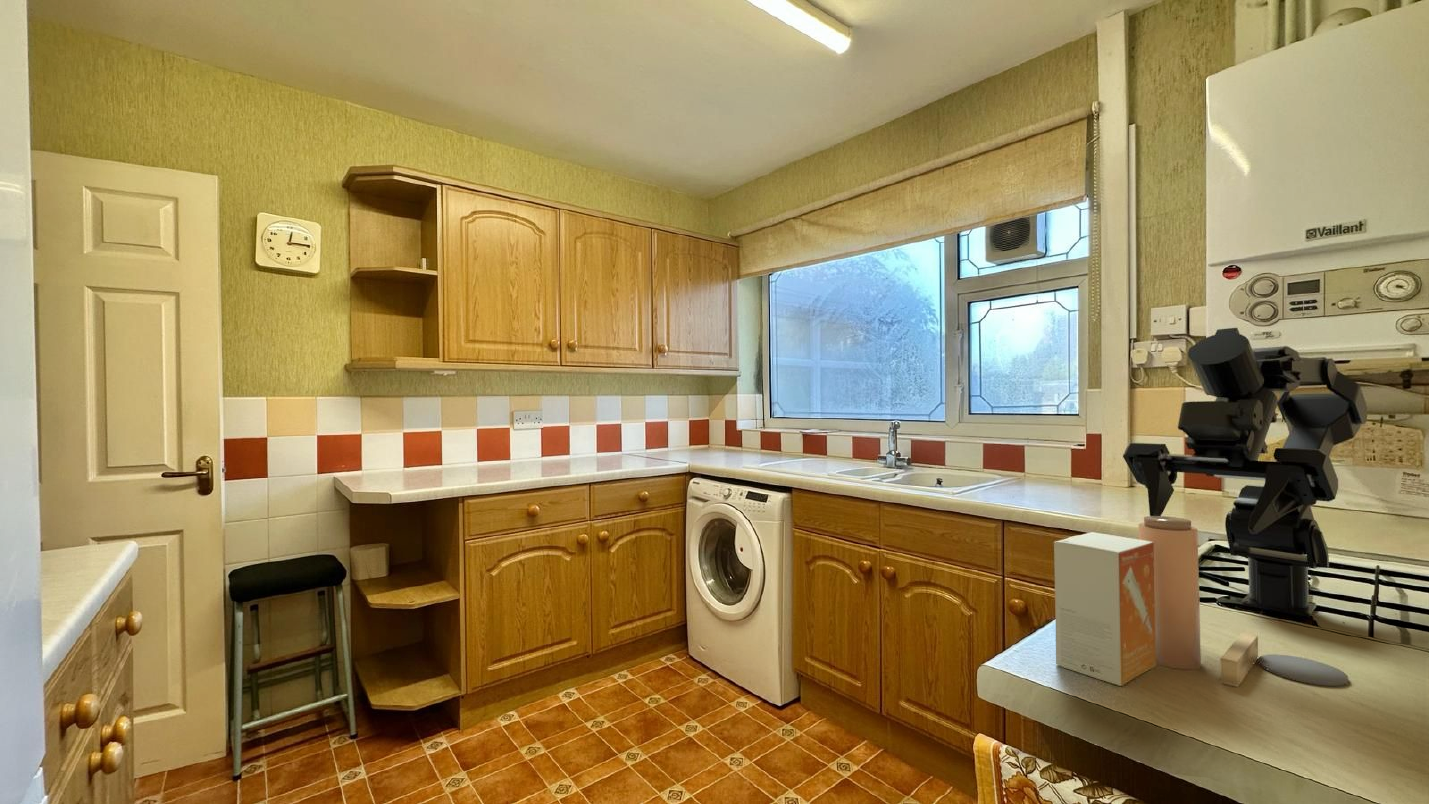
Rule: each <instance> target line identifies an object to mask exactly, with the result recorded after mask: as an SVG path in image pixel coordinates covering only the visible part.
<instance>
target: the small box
mask: <svg viewBox="0 0 1429 804" xmlns="http://www.w3.org/2000/svg"><path fill="white" fill-rule="evenodd" d="M1053 551H1054V552H1053V557H1054V559H1053V561H1054V563H1053V565H1054V566H1053V567H1054V603H1055V605H1054V606H1055V608H1054V609H1055V610H1054V611H1055V612H1054V613H1055V615H1054V616H1055V664H1056V665H1057V666H1059V667H1062V668H1065V669H1068V670H1071V671H1073V672H1077V673H1080V674H1082V675H1085V676H1089V677H1091V678H1094V679H1098V680H1100V681H1104V682H1107V683H1110V684H1113V685H1116V686H1120V687H1123V686H1124V685H1126V684H1127V683H1128V682H1130V681H1131V680H1133V679H1135V678H1137V677H1139V676H1140V675H1142V674H1144V673H1146V672H1147V671H1149V670H1151V669H1154V668H1155V667H1156V666H1157V665H1156V655H1155V602H1154V542H1151V541H1145V540H1139V538H1138V539H1137V538H1131V537H1125V536H1120V535H1119V536H1118V535H1113V534H1107V533H1106V534H1105V533H1100V532H1096V531H1095V532H1094V531H1091V532H1087V533H1083V534H1079V535H1073V536H1069V537H1066V538H1064V539H1059V540H1055V541H1053Z"/></svg>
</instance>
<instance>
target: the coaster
mask: <svg viewBox="0 0 1429 804" xmlns="http://www.w3.org/2000/svg"><path fill="white" fill-rule="evenodd" d="M1257 661H1259V662H1258V664H1259V663H1260V665H1261V666H1262V667H1263V668H1265V669H1268V670H1269V671H1271V672H1273V673H1275V674H1274V675H1276V674H1277V675H1276V676H1278V675H1280V676H1279V677H1281V676H1282V678H1284V677H1287V678H1290V679H1289V680H1291V679H1294V680H1296V681H1295V682H1298V681H1301V682H1300V683H1303V682H1305V683H1304V684H1308V683H1309V685H1313V684H1314V685H1316V686H1319V687H1321V686H1322V687H1323V686H1324V687H1342V686H1345V685H1344V684H1346V683H1347V682H1348V683H1349V676H1348V674H1346V673H1345V672H1344V671H1342V670H1341V669H1338V668H1337V667H1335V666H1332V665H1330V664H1326V663H1323V662H1320V661H1317V660H1313V659H1309V658H1306V657H1301V656H1294V655H1287V654H1264V655H1260V656H1258V659H1257ZM1260 665H1259V666H1260ZM1261 666H1260V667H1261ZM1262 667H1261V668H1262ZM1263 668H1262V669H1263ZM1265 669H1264V670H1265ZM1269 671H1268V672H1269ZM1271 672H1270V673H1271ZM1273 673H1272V674H1273ZM1287 678H1286V679H1287ZM1294 680H1293V681H1294ZM1297 680H1298V681H1297ZM1348 683H1347V684H1348ZM1347 684H1346V685H1347ZM1314 685H1313V686H1314Z"/></svg>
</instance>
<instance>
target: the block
mask: <svg viewBox="0 0 1429 804" xmlns="http://www.w3.org/2000/svg"><path fill="white" fill-rule="evenodd" d="M1257 657H1258V658H1259V636H1258V635H1257V634H1252V633H1249V632H1244V631H1243V632H1242V633H1240V635H1239V636H1238V637H1237V638H1236V639H1235V640H1234V642H1233V643H1232V644H1231V645H1230V646H1229V647H1228V649H1227V650H1226V651H1225V652H1224V653H1223V654H1222V655H1221V657H1220V680H1221V681H1220V683H1221V684H1225V685H1228V686H1233V687H1236V688H1239V686H1240V685H1241V683H1242V681H1243V680H1244V679H1245V677H1247V675H1248V674H1249V672H1250V671H1251V669H1252V668H1251V666H1252V665H1253V663H1254V662H1255V661H1256V659H1257ZM1257 660H1258V659H1257ZM1256 662H1257V661H1256ZM1256 662H1255V663H1256ZM1255 663H1254V664H1255ZM1253 666H1254V665H1253ZM1253 666H1252V667H1253ZM1250 668H1251V669H1250ZM1248 671H1249V672H1248Z"/></svg>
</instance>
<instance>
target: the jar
mask: <svg viewBox="0 0 1429 804" xmlns="http://www.w3.org/2000/svg"><path fill="white" fill-rule="evenodd" d="M1137 528H1138V540H1145V541H1151V542H1154V602H1155V655H1156V664H1157V665H1160V666H1164V667H1167V668H1172V669H1176V670H1177V669H1178V670H1198V669H1199V668H1201V667H1202V649H1201V647H1202V646H1201V617H1200V616H1201V614H1200V613H1201V612H1200V611H1201V609H1200V607H1201V606H1200V575H1199V541H1198V538H1199V536H1198V535H1199V534H1198V528H1196V527H1193V526H1192V520H1191V519H1187V518H1182V517H1176V516H1175V517H1174V516H1165V515H1161V516H1150V515H1146V516H1144V517H1143V522H1141V523H1138V527H1137Z"/></svg>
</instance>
